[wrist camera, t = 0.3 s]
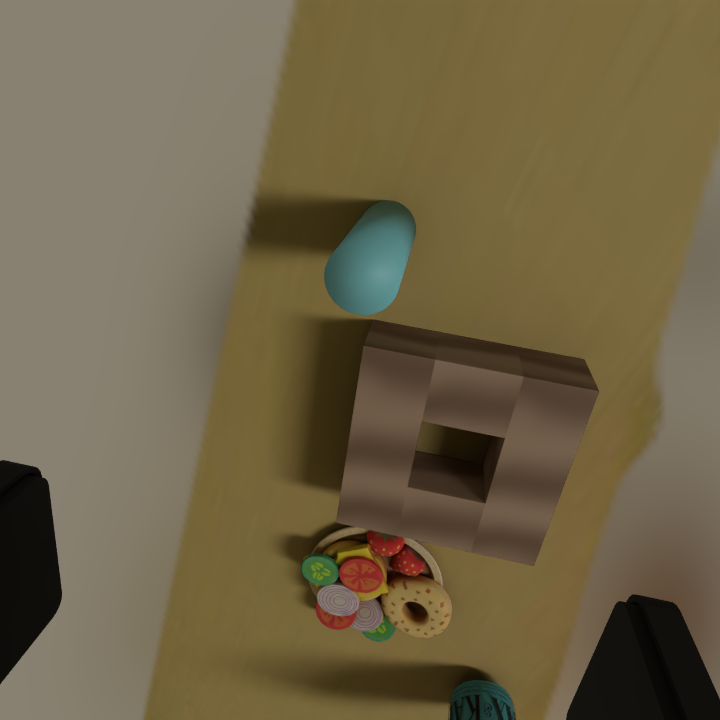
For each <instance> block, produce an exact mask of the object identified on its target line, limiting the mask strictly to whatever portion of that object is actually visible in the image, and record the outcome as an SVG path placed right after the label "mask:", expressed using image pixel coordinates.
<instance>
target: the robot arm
mask: <svg viewBox="0 0 720 720" xmlns="http://www.w3.org/2000/svg"><path fill="white" fill-rule="evenodd" d="M61 598H62V589H61V581H60V573H59V565H58V556H57V548H56V540H55V532H54V524H53V516H52V508H51V499H50V491H49V484H48V481H47V480H46V479H45V478H42V475H41V472H40V470H39V469H38V468H36V467H33V466H28V465H24V464H19V463H14V462H10V461H5V460H2V461H0V684H1V682H2V681H3V680H4V679H5V677H6V676H7V675H8V674H9V672H10V671H11V670H12V668H13V667H14V666H15V665H16V664H17V662H18V661H19V660H20V658H21V657H22V656H23V655H24V653H25V652H26V651H27V650H28V648H29V647H30V646H31V645H32V643H33V642H34V641H35V640H36V638H37V637H38V636H39V634H40V633H41V632H42V630H43V629H44V628H45V627H46V625H47V624H48V623H49V622H50V621H51V619H52V618H53V617H54V615H55V614H56V612H57V610H58V608H59V605H60V603H61ZM566 720H720V699H719V696H718V694H717V692H716V690H715V687H714V685H713V683H712V681H711V679H710V676H709V674H708V672H707V670H706V667H705V665H704V663H703V661H702V659H701V656H700V654H699V652H698V650H697V647H696V645H695V643H694V641H693V638H692V636H691V634H690V632H689V629H688V627H687V625H686V623H685V620H684V618H683V616H682V614H681V612H680V610H679V608H678V607H677V605H675V604H674V603H673V602H669V601H664V600H659V599H655V598H650V597H645V596H641V595H634V594H633V595H632V596H630V597H629V599H628V600H627V602H621V601H619V602H618V603H616V605H615V607H614V609H613V611H612V613H611V615H610V618H609V620H608V622H607V624H606V627H605V629H604V631H603V634H602V636H601V638H600V640H599V642H598V645H597V647H596V649H595V651H594V653H593V656H592V658H591V660H590V662H589V665H588V667H587V669H586V671H585V674H584V676H583V678H582V680H581V683H580V685H579V687H578V689H577V692H576V694H575V696H574V698H573V701H572V703H571V705H570V708H569V710H568V713H567V718H566Z"/></svg>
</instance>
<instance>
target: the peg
mask: <svg viewBox="0 0 720 720" xmlns="http://www.w3.org/2000/svg"><path fill="white" fill-rule="evenodd" d="M415 234H416V225H415V220H414V218H413V216H412V214H411V212H410V211H409V210H408V209H407V208H406V207H405V206H404V205H402V204H400V203H398V202H395V201H389V200H387V201H380V202H377V203H375V204H373V205H372V206H370V207H369V208H368V209H367V210H366V211H365V213H364V214H363V215H362V217H361V218H360V219H359V220H358V222H357V223H356V224H355V226H354V227H353V228H352V229H351V231H350V232H349V233H348V234H347V236H346V237H345V238H344V240H343V241H342V242H341V243H340V245H339V246H338V247H337V249H336V250H335V251H334V252H333V254H332V255H331V256H330V258H329V260H328V262H327V264H326V267H325V274H324V279H325V285H326V288H327V291H328V293H329V295H330V297H331V298H332V299H333V301H334V302H335V303H336V304H337V305H338V306H340V307H341V308H342V309H344V310H346V311H348V312H351V313H354V314H359V315H369V314H374V313H377V312H380V311H382V310H383V309H385V308H386V307H388V306H389V305H390V304H391V303H392V301H393V300H394V299H395V297H396V295H397V293H398V290H399V287H400V283H401V280H402V277H403V274H404V270H405V267H406V264H407V261H408V257H409V254H410V251H411V248H412V244H413V241H414V238H415Z"/></svg>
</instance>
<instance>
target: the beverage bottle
mask: <svg viewBox="0 0 720 720" xmlns="http://www.w3.org/2000/svg"><path fill="white" fill-rule="evenodd" d="M449 701H450V700H449ZM513 704H514V703H512V700H511V698H510V695H509V694H508V692H507V691H506V690H505V689H503V688H502V687H501V686H499V685H497V684H495V683H492V682H489V681H483V680H473V681H468V682H464V683H462V684H460V685H459V686H457V687H456V688H455V689H454V691H453V694H452V696H451V703H450V704H449V705H450V708H449V709H450V713H449V714H450V718H449V717H448V720H449V719H450V720H516V716H515V717H514V715H516V713H514V709H513V708H514V707H513Z"/></svg>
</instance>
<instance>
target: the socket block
mask: <svg viewBox="0 0 720 720" xmlns="http://www.w3.org/2000/svg"><path fill="white" fill-rule="evenodd" d="M598 393H599V390H598V388H597V385H596V383H595V381H594V379H593V377H592V375H591V373H590V370H589V368H588V366H587V364H586V362H585V360H584V359H579V358H574V357H568V356H563V355H558V354H552V353H547V352H542V351H537V350H531V349H526V348H521V347H515V346H510V345H505V344H499V343H494V342H489V341H484V340H478V339H473V338H468V337H462V336H457V335H452V334H447V333H441V332H436V331H431V330H425V329H420V328H415V327H409V326H404V325H399V324H394V323H388V322H383V321H378V320H373V322H372V324H371V327H370V330H369V332H368V335H367V338H366V340H365V343H364V346H363V352H362V358H361V364H360V371H359V377H358V384H357V390H356V397H355V403H354V410H353V416H352V423H351V429H350V436H349V442H348V448H347V455H346V461H345V468H344V474H343V481H342V487H341V494H340V500H339V507H338V513H337V519H336V523H340V524H344V525H349V526H353V527H358V528H363V529H367V530H372V531H376V532H381V533H385V534H390V535H394V536H399V537H404V538H408V539H413V540H417V541H422V542H426V543H431V544H435V545H440V546H445V547H449V548H454V549H458V550H463V551H467V552H472V553H477V554H481V555H486V556H490V557H495V558H499V559H504V560H508V561H513V562H518V563H522V564H527V565H531V566H534V564H535V561H536V559H537V556H538V553H539V551H540V548H541V545H542V543H543V540H544V537H545V535H546V532H547V529H548V527H549V524H550V521H551V519H552V516H553V513H554V511H555V508H556V505H557V503H558V500H559V497H560V495H561V492H562V489H563V487H564V484H565V481H566V479H567V476H568V473H569V471H570V468H571V465H572V463H573V460H574V457H575V455H576V452H577V449H578V447H579V444H580V441H581V439H582V436H583V433H584V431H585V428H586V425H587V422H588V420H589V417H590V414H591V412H592V409H593V406H594V404H595V401H596V398H597V396H598ZM422 421H423V422H428V423H433V424H438V425H442V426H447V427H452V428H457V429H462V430H467V431H472V432H477V433H482V434H487V435H491V439H490V442H489V446H488V449H487V453H486V456H485V459H484V463H483V465H481V464H477V463H472V462H467V461H462V460H457V459H452V458H447V457H443V456H438V455H433V454H428V453H423V452H418V451H415V450H416V446H417V441H418V436H419V432H420V427H421V423H422Z"/></svg>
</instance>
